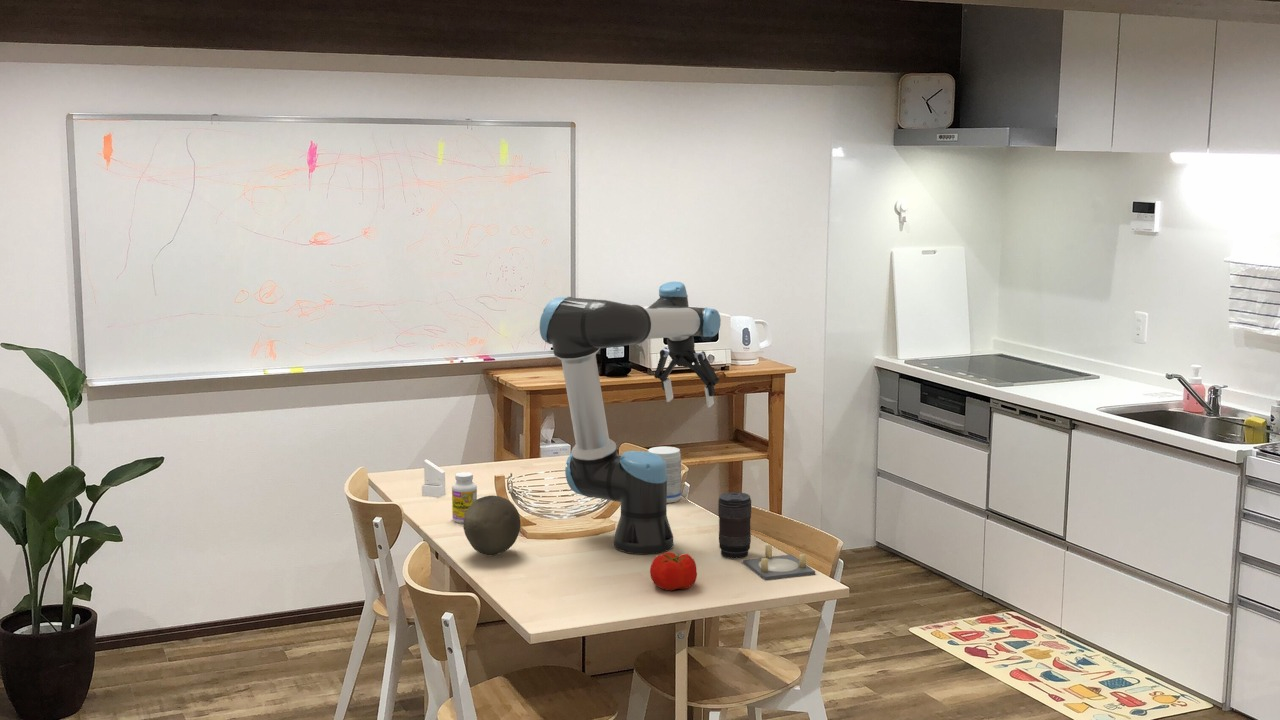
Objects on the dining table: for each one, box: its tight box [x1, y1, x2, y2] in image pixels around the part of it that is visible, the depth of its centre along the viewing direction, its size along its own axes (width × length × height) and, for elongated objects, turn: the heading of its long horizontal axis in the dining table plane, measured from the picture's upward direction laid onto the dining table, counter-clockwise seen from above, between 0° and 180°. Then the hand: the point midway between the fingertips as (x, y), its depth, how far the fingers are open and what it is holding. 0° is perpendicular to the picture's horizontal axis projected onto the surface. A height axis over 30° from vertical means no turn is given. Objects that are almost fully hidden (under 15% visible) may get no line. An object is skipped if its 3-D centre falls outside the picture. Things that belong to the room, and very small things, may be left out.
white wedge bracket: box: [421, 458, 447, 498], centre depth 358 cm, size 4×10×9 cm
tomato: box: [649, 551, 698, 591], centre depth 282 cm, size 11×11×8 cm
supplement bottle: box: [451, 471, 478, 524], centre depth 333 cm, size 7×7×13 cm
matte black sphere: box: [462, 495, 521, 557], centre depth 303 cm, size 14×14×15 cm
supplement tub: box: [647, 446, 682, 504], centre depth 352 cm, size 10×10×15 cm
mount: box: [742, 544, 816, 581], centre depth 294 cm, size 13×13×4 cm
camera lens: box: [717, 491, 752, 560], centre depth 304 cm, size 8×8×15 cm
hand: (690, 402), depth 354 cm, fingers open, 13 cm apart
